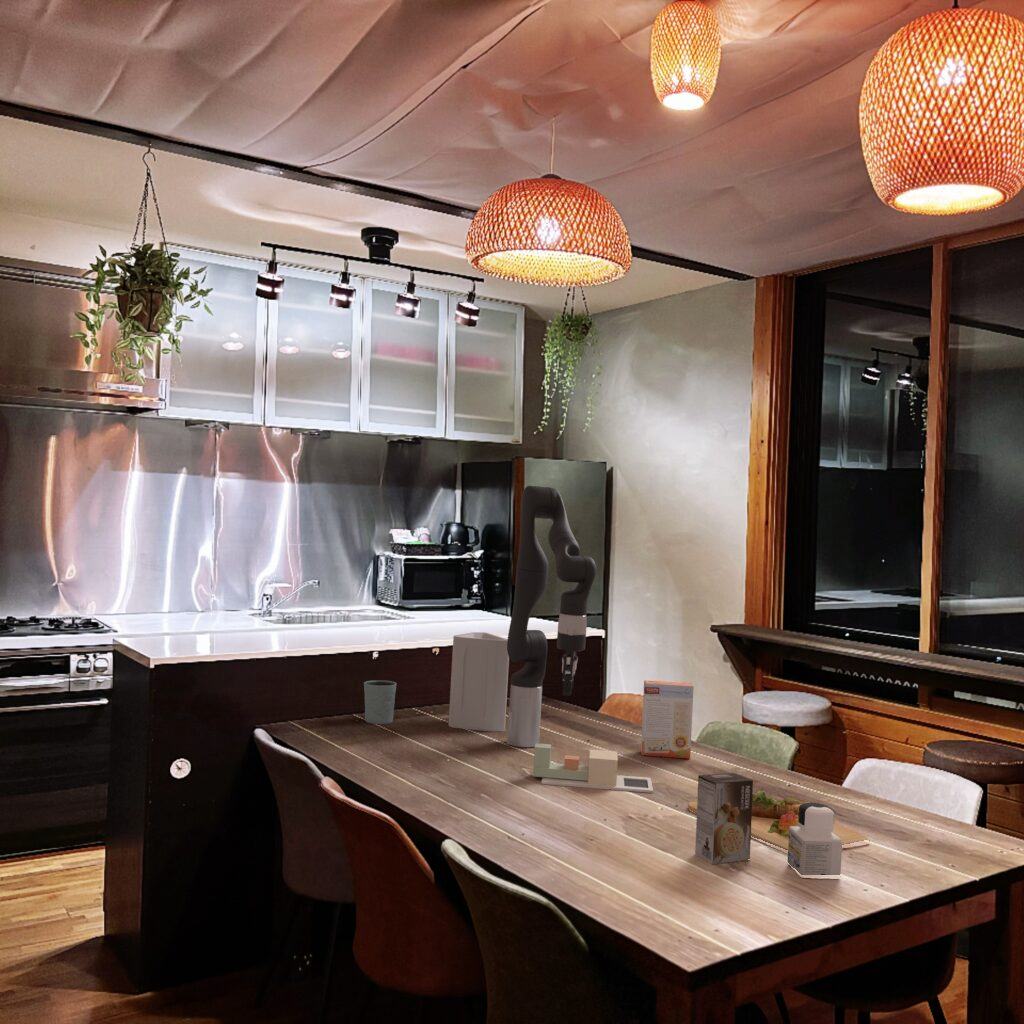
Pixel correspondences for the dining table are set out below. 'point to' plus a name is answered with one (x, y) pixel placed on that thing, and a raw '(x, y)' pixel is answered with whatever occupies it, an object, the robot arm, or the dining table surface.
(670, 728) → the cracker box
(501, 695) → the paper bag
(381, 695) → the grey green cup
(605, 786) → the white base plate
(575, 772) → the sage green stepped block
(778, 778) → the dining table surface
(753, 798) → the cutting board
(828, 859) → the container
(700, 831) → the coffee box
